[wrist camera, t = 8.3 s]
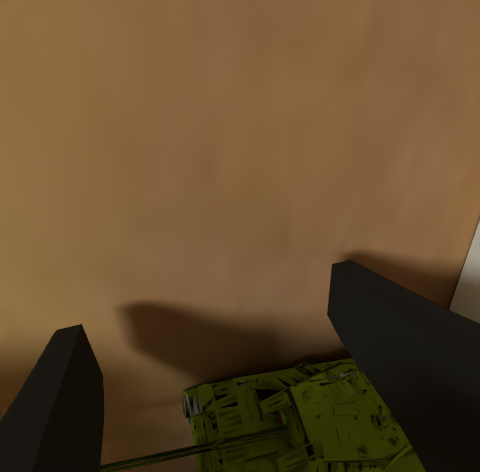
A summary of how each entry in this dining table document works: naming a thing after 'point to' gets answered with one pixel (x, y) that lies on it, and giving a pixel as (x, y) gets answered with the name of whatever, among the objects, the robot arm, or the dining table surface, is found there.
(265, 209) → the dining table surface
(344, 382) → the toy tank
